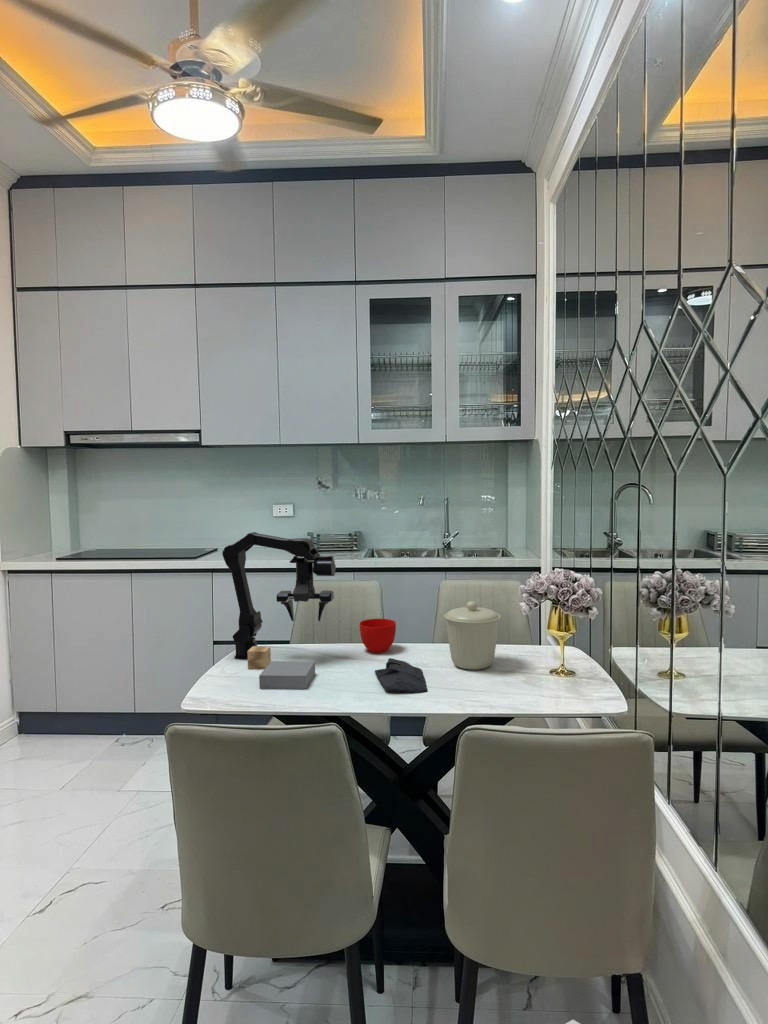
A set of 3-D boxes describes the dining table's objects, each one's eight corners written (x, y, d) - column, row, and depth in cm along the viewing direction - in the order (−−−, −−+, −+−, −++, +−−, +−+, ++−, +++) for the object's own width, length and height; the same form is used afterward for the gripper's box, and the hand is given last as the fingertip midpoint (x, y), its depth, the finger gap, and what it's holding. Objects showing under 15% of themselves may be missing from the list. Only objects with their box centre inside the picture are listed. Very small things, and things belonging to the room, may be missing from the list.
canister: (486, 654, 215) (485, 594, 214) (510, 670, 198) (510, 604, 196) (436, 660, 210) (435, 598, 209) (457, 676, 193) (456, 609, 192)
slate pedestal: (259, 688, 186) (259, 675, 185) (271, 673, 199) (271, 661, 199) (306, 689, 184) (305, 675, 184) (315, 673, 198) (314, 661, 198)
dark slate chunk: (377, 696, 179) (376, 680, 178) (374, 672, 201) (374, 657, 200) (430, 694, 179) (430, 678, 179) (422, 670, 201) (421, 656, 201)
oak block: (248, 669, 204) (247, 651, 204) (253, 663, 210) (252, 646, 210) (266, 669, 204) (265, 651, 203) (270, 664, 210) (270, 646, 209)
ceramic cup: (388, 641, 234) (388, 615, 234) (400, 654, 218) (400, 625, 217) (354, 644, 231) (354, 617, 231) (364, 657, 215) (363, 628, 214)
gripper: (271, 580, 206) (273, 626, 207) (327, 579, 204) (329, 627, 205) (280, 574, 217) (281, 618, 218) (333, 574, 215) (334, 618, 216)
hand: (306, 621), depth 214 cm, fingers open, 9 cm apart
